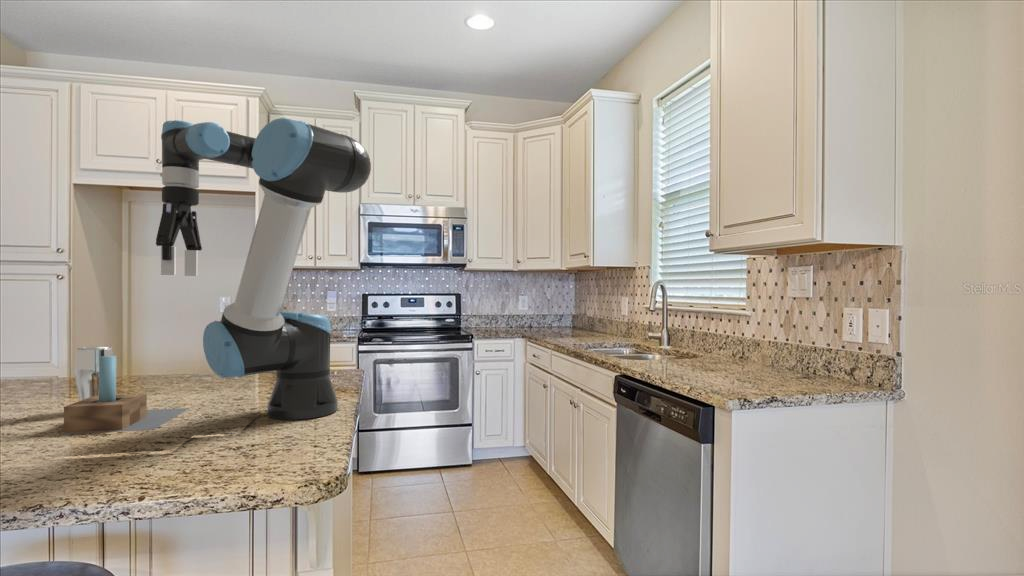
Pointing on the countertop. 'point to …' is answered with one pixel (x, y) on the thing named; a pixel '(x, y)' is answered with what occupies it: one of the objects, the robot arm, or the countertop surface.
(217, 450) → the countertop surface
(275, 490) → the countertop surface
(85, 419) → the wooden peg holder
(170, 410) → the mat
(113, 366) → the dowel
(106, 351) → the beer glass
